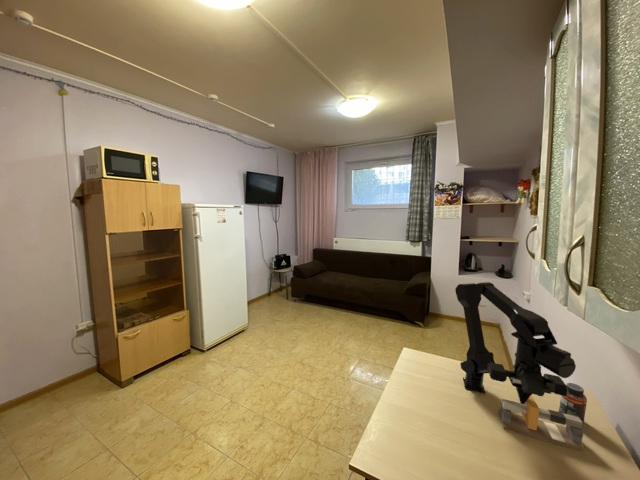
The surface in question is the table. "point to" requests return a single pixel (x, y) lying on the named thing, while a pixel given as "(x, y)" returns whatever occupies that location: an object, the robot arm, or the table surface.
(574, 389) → the supplement bottle
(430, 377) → the table surface
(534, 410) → the collar
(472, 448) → the table surface
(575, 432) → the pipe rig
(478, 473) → the table surface
